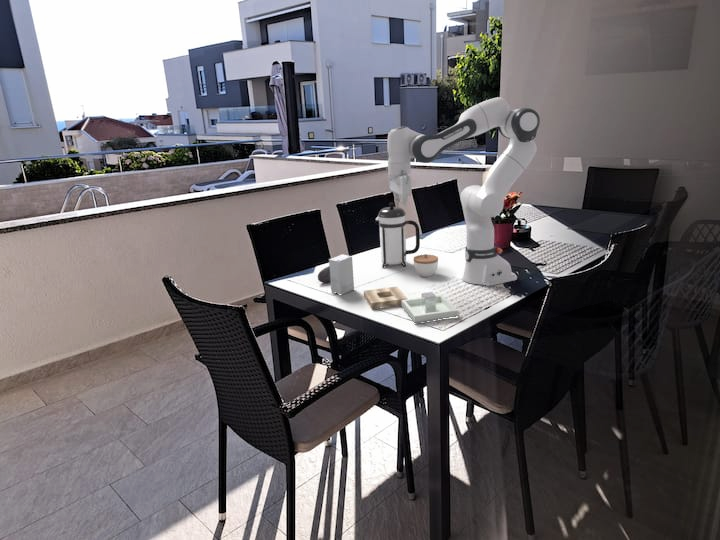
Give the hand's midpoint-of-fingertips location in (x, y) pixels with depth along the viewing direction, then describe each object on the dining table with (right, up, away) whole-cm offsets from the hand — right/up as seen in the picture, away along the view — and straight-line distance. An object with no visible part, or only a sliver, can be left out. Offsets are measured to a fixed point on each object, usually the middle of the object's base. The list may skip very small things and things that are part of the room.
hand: (400, 204), depth 198 cm
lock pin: (+9, -41, -21) cm, 47 cm away
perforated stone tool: (-29, -31, +21) cm, 47 cm away
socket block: (-7, -38, -6) cm, 40 cm away
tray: (+9, -42, -20) cm, 47 cm away
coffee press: (+1, -24, +38) cm, 45 cm away
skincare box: (-23, -36, +6) cm, 43 cm away
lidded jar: (+13, -29, +20) cm, 38 cm away
